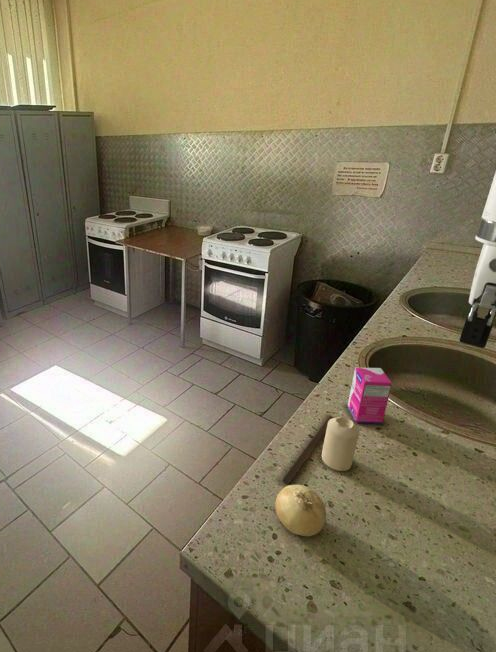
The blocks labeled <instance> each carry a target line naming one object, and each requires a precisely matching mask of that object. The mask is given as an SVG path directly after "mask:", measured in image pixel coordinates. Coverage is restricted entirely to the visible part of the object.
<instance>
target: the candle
mask: <svg viewBox="0 0 496 652" xmlns="http://www.w3.org/2000/svg"><path fill="white" fill-rule="evenodd" d="M359 437H360V428H359V427H358V425H357V424H356V423H355V422H353V420H352V419H349V418H348V417H347V416H345V415H343V416H337V417H334V418H332V419H330V420H329V421H328V425H327V430H326V433H325V434H324V441H323V445H322V450H321V460H322V461H323V463H324V464H325V465H326V466H327V467H328V468H331V470H335V471H338V472H346V471H349V470H350V469H351V468H352V464H353V462H354V456H355V453H356V450H357V449H356V448H357V445H358V440H359Z"/></svg>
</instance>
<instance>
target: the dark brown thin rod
mask: <svg viewBox="0 0 496 652" xmlns="http://www.w3.org/2000/svg"><path fill="white" fill-rule="evenodd" d="M332 418H335V417H334V416H332V415H329V416H328V417H327V419H326V420H325V421H324V423H323V424H322V426H321V427H320V428H319V429H318V431H317V432H316V434H315V435H314V436H313V438H312V439H311V441H310V442H309V443H308V445H307V446H306V447H305V448H304V450H303V451H302V452H301V454H300V456H298V458H297V459H296V460H295V462H294V463H293V464H292V466H291V468H290V469H289V470H288V472H287V473H286V474H285V476H284V477H283V478H282V482H283V483H285V484H287V486H289V485H290V484H291V482H292V480H293V479H294V478H295V477H296V475H297V474H298V473H299V471H300V470H301V468H302V467H303V465H304V464H305V463H306V462H307V460H308V458H310V455H311V454H312V452H313V451H314V450H315V448H316V447H317V446H318V445H319V442H320V441H321V440H322V438H323V437H325V435H326V430H327V425H328V421H329V420H330V419H332Z"/></svg>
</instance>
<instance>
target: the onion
mask: <svg viewBox="0 0 496 652" xmlns="http://www.w3.org/2000/svg"><path fill="white" fill-rule="evenodd" d="M279 491H280V492H279V493H278V494H277V496H276V499H275V505H274V507H275V512H276V514H277V518H278V519H279V521H280V522H281V523H282V525H283V526H284V527H285V528H286V529H287V530H288V531H289V532H290V533H292V534H294V535H297V536H302V537H312V536H315V535H317V534H318V533H320V532H321V531H322V529H323V527H324V526H325V524H326V517H327V509H326V506H325V504H324V501H323V500H322V498H321V497H320V496H319V494H318V493H317V492H316V491H315V490H313V489H312V488H311V487H308V486H305V485H302V484H289V485H286V486H284V487H283V488H282V489H281V490H279Z"/></svg>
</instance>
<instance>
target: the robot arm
mask: <svg viewBox="0 0 496 652" xmlns="http://www.w3.org/2000/svg"><path fill="white" fill-rule="evenodd" d="M474 240H476V241H477V242H480V243H482V248H481V251H480V255H479V257H478V260H477V264H476V268H475V271H474V275H473V279H472V283H471V288H470V292H469V298H468V304H470V306H471V309H470V312H469V314H468V317H467V318H465V321H464V325H463V327H462V330H461V334H460V337H459V339H458V340H459V342H460V343H462V344H465V345H468V346H474V347H477V348H481V349H484V348H486V346H487V343H488V340H489V337H490V335H491V333H492V330H493V326H494V324H493V323H494V319H495V316H496V171H495V172H494V176H493V178H492V182H491V186H490V189H489V192H488V195H487V199H486V202H485V205H484V208H483V212H482V214H481V218H480V221H479V224H478V228H477V230H476V234H475V238H474Z"/></svg>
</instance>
